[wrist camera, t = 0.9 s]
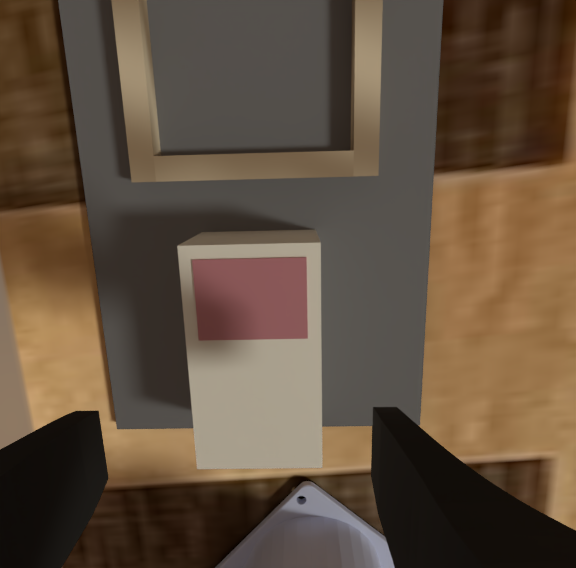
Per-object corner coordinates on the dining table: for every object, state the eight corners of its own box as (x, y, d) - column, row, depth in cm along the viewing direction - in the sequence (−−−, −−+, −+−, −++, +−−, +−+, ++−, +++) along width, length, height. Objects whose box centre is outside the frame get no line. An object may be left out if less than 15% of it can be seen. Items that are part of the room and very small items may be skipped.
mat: (416, 419, 21) (419, 425, 21) (121, 423, 21) (117, 429, 21) (451, -236, 15) (456, -250, 14) (35, -215, 15) (26, -228, 15)
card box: (317, 413, 21) (322, 469, 17) (215, 415, 21) (196, 470, 17) (315, 229, 18) (320, 242, 14) (202, 232, 19) (176, 245, 15)
